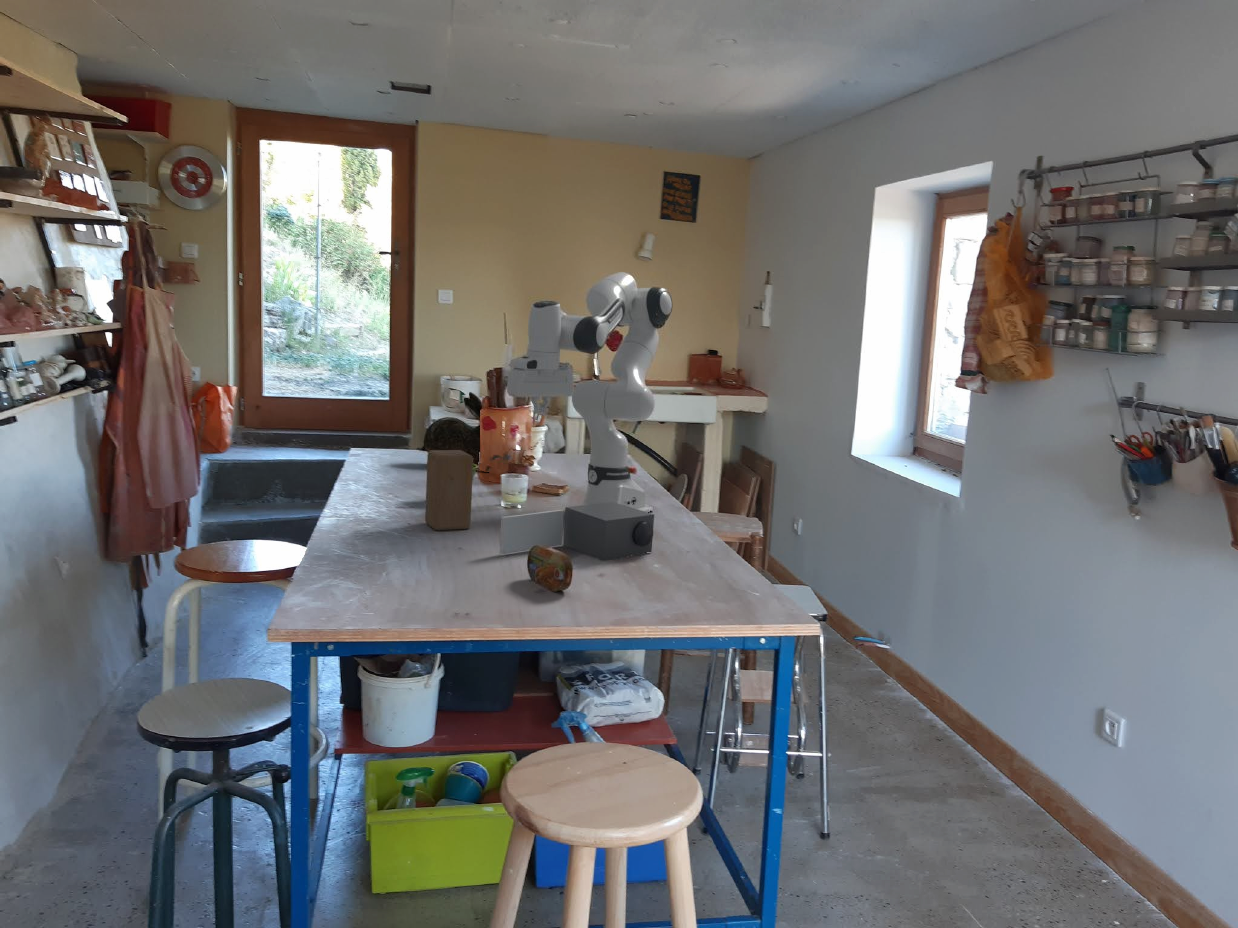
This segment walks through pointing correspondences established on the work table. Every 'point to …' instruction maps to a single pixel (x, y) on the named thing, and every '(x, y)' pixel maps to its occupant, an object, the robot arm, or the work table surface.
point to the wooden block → (449, 489)
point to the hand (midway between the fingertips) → (540, 413)
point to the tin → (549, 568)
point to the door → (531, 531)
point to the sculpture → (456, 432)
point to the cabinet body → (608, 530)
